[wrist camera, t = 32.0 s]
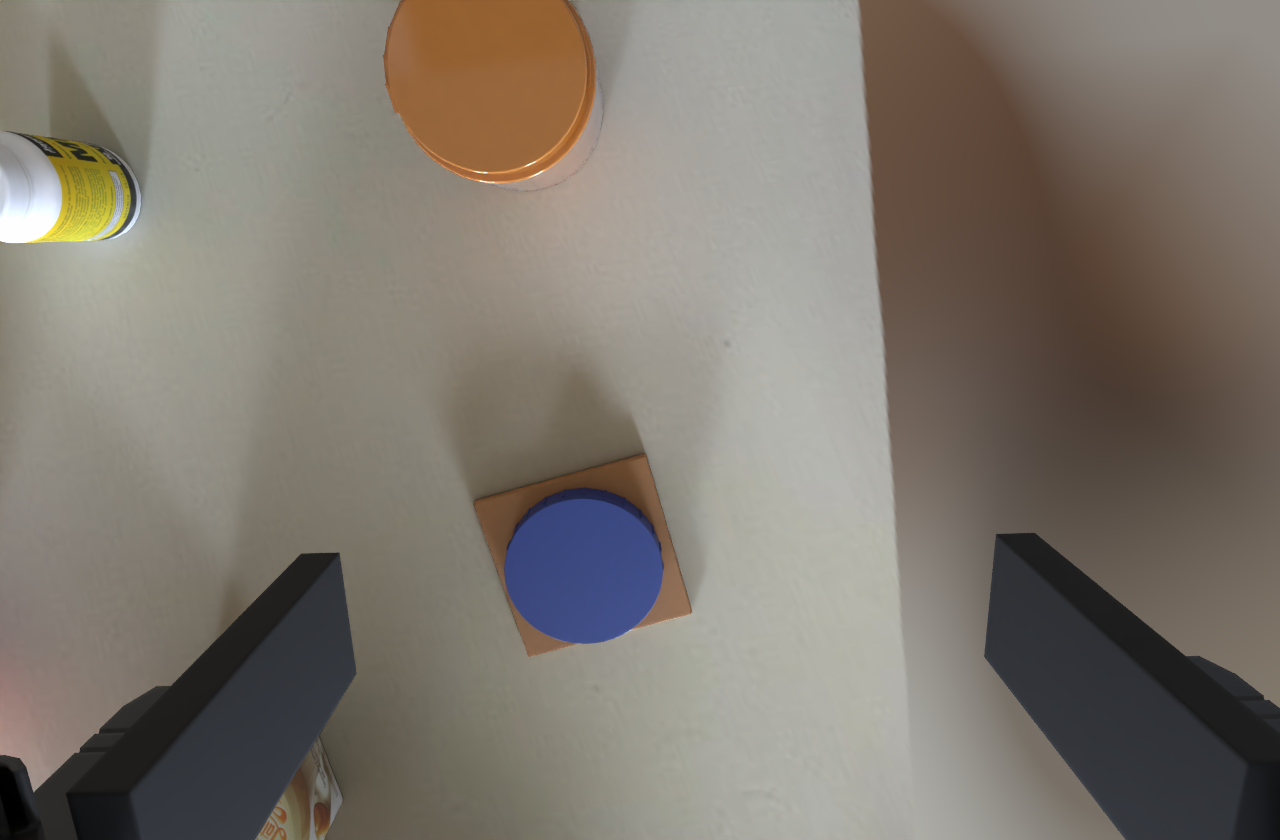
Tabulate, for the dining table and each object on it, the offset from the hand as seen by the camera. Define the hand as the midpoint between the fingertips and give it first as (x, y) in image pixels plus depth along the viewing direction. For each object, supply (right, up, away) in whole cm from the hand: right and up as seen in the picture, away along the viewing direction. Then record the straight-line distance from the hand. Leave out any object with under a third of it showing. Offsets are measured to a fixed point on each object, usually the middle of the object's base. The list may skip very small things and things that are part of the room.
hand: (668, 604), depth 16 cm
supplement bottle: (-28, +15, +24) cm, 40 cm away
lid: (-4, -5, +27) cm, 28 cm away
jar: (-6, +19, +23) cm, 31 cm away
